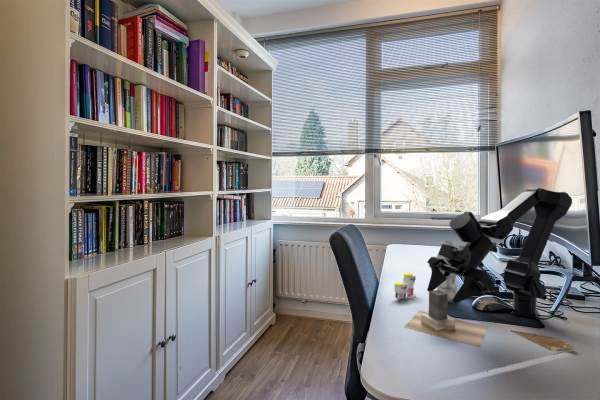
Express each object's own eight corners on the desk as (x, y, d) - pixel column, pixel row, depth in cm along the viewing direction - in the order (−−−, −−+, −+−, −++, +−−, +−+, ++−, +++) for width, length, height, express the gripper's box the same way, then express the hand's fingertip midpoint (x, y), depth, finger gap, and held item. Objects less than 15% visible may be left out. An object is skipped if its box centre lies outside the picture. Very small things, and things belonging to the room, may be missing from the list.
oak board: (419, 313, 96) (419, 310, 96) (488, 328, 85) (488, 326, 85) (403, 330, 85) (403, 327, 85) (480, 350, 74) (480, 347, 74)
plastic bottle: (462, 303, 104) (463, 242, 103) (446, 306, 102) (447, 244, 101) (446, 297, 110) (447, 239, 109) (431, 299, 108) (432, 240, 107)
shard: (509, 335, 83) (510, 328, 83) (533, 332, 85) (533, 325, 85) (552, 357, 72) (552, 349, 72) (577, 352, 74) (578, 345, 74)
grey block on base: (438, 319, 90) (439, 288, 89) (455, 328, 84) (455, 295, 84) (421, 322, 88) (421, 290, 87) (436, 332, 82) (437, 297, 82)
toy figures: (403, 304, 103) (403, 279, 103) (391, 301, 107) (391, 276, 106) (420, 295, 112) (420, 272, 111) (408, 293, 115) (408, 270, 115)
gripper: (433, 229, 96) (401, 268, 93) (487, 239, 78) (450, 288, 75) (453, 254, 98) (423, 292, 95) (510, 268, 81) (475, 317, 78)
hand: (440, 296), depth 86 cm, fingers open, 9 cm apart
